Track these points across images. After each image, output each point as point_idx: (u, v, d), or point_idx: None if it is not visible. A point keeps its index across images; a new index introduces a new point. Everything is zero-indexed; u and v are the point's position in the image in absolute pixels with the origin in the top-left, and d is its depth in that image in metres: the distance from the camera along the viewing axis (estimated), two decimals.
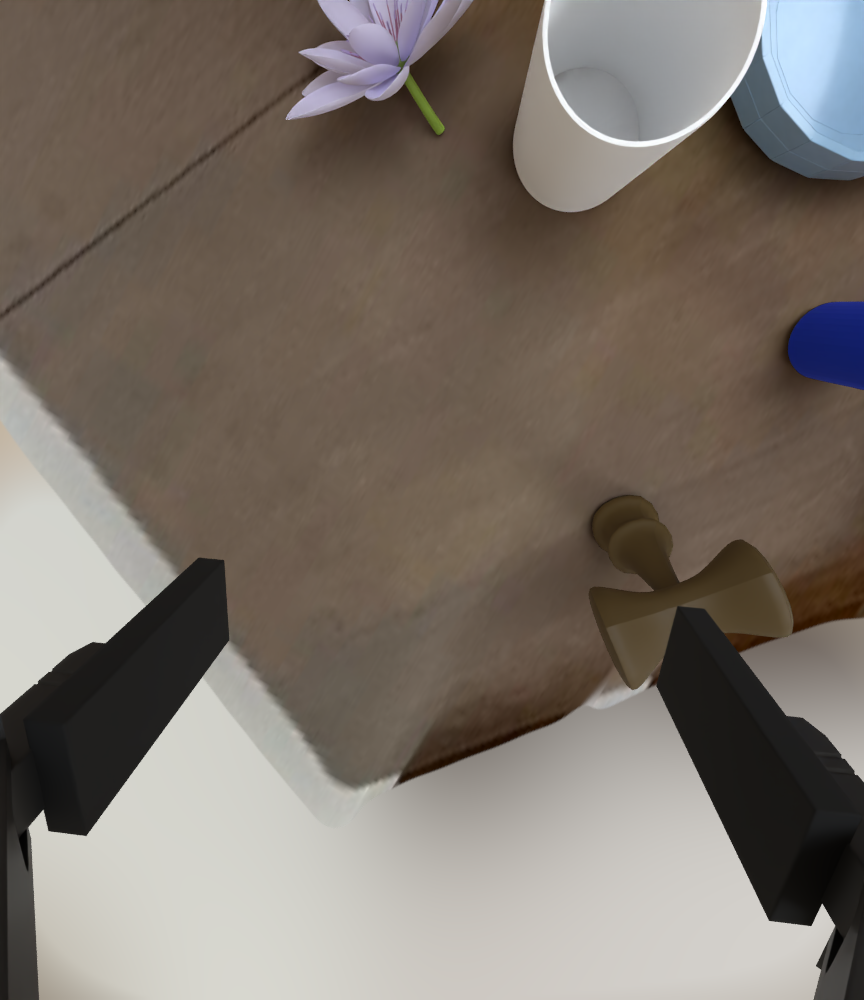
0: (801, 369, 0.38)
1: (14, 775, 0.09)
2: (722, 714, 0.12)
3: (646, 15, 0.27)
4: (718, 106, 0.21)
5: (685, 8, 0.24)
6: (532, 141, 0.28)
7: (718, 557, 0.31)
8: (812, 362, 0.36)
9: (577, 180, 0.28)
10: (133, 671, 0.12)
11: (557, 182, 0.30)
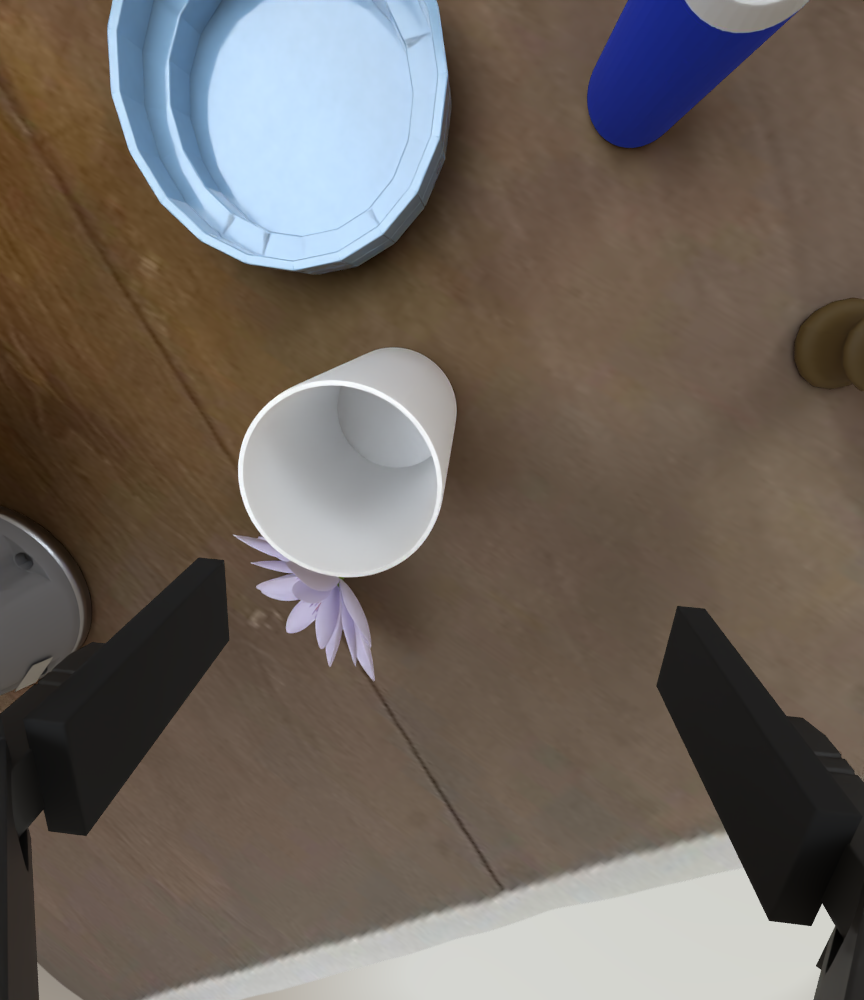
0: (670, 127, 0.29)
1: (14, 775, 0.09)
2: (722, 714, 0.12)
3: (311, 401, 0.29)
4: (412, 418, 0.20)
5: (313, 388, 0.26)
6: None
7: None
8: (667, 127, 0.27)
9: None
10: (133, 671, 0.12)
11: None
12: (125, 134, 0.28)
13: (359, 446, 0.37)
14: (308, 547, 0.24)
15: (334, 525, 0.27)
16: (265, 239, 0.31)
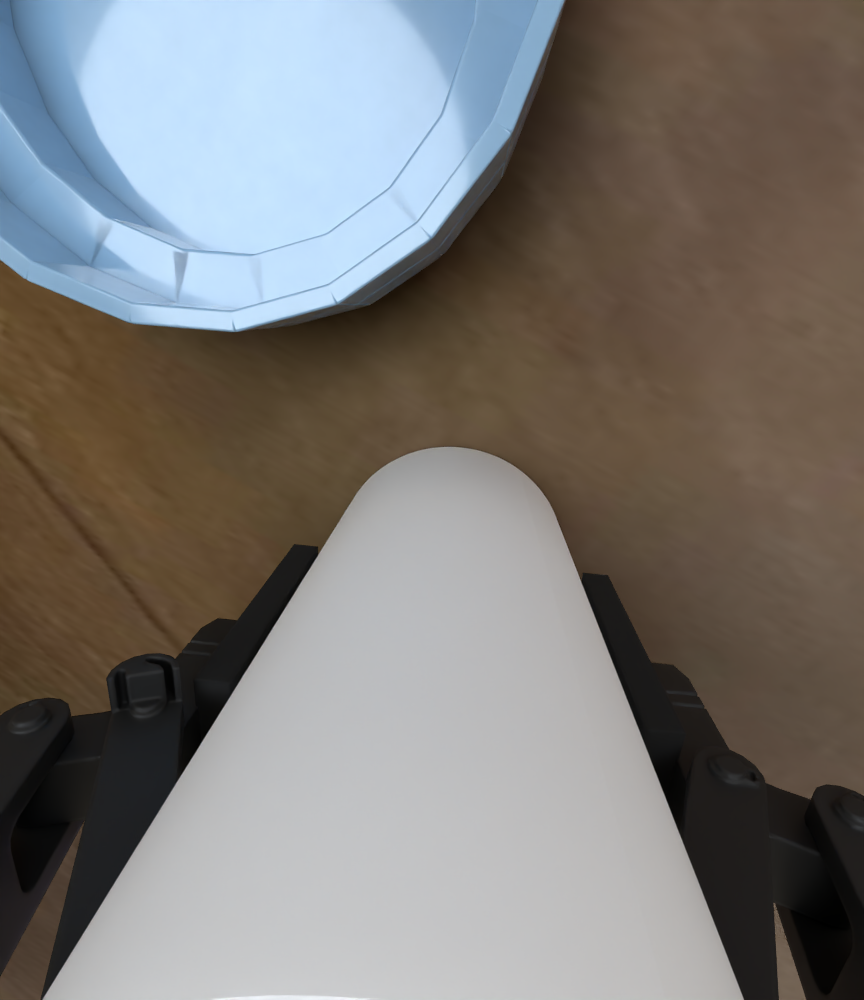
0: None
1: (185, 735, 0.11)
2: None
3: None
4: None
5: None
6: None
7: None
8: None
9: None
10: None
11: None
12: None
13: None
14: None
15: None
16: (179, 265, 0.15)
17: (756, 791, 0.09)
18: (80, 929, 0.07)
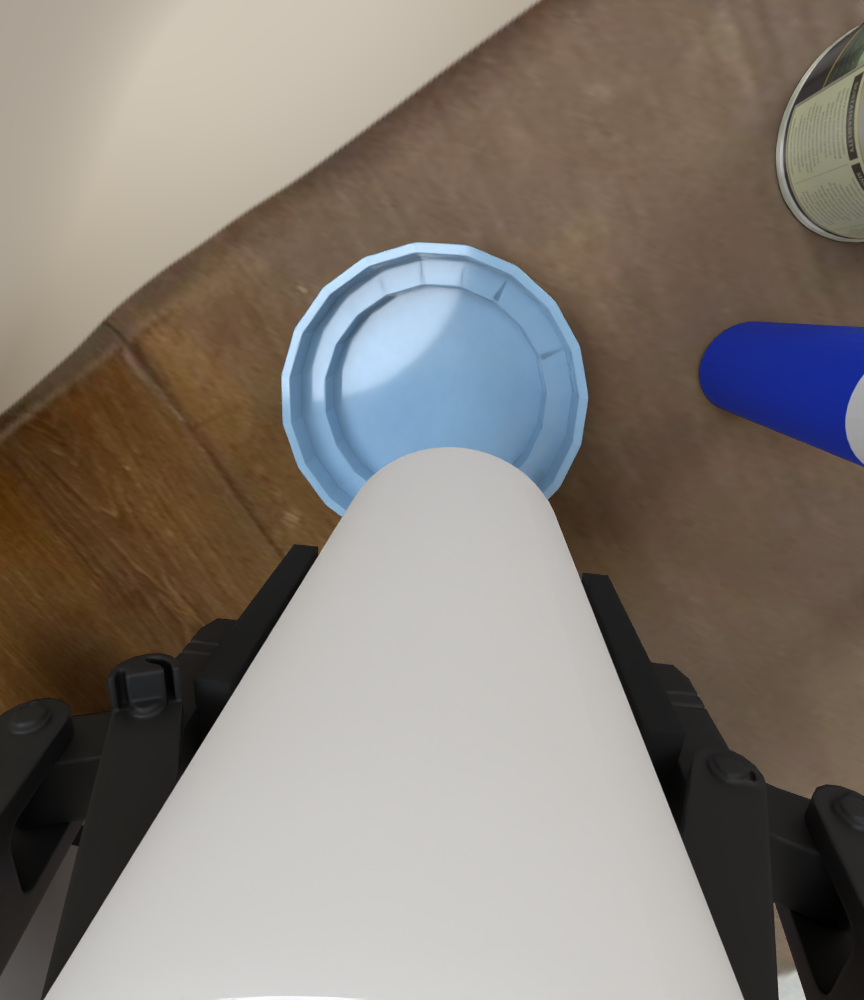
0: None
1: (185, 735, 0.11)
2: None
3: None
4: None
5: None
6: None
7: None
8: None
9: None
10: None
11: None
12: (293, 452, 0.31)
13: None
14: None
15: None
16: None
17: (756, 791, 0.09)
18: (80, 929, 0.07)
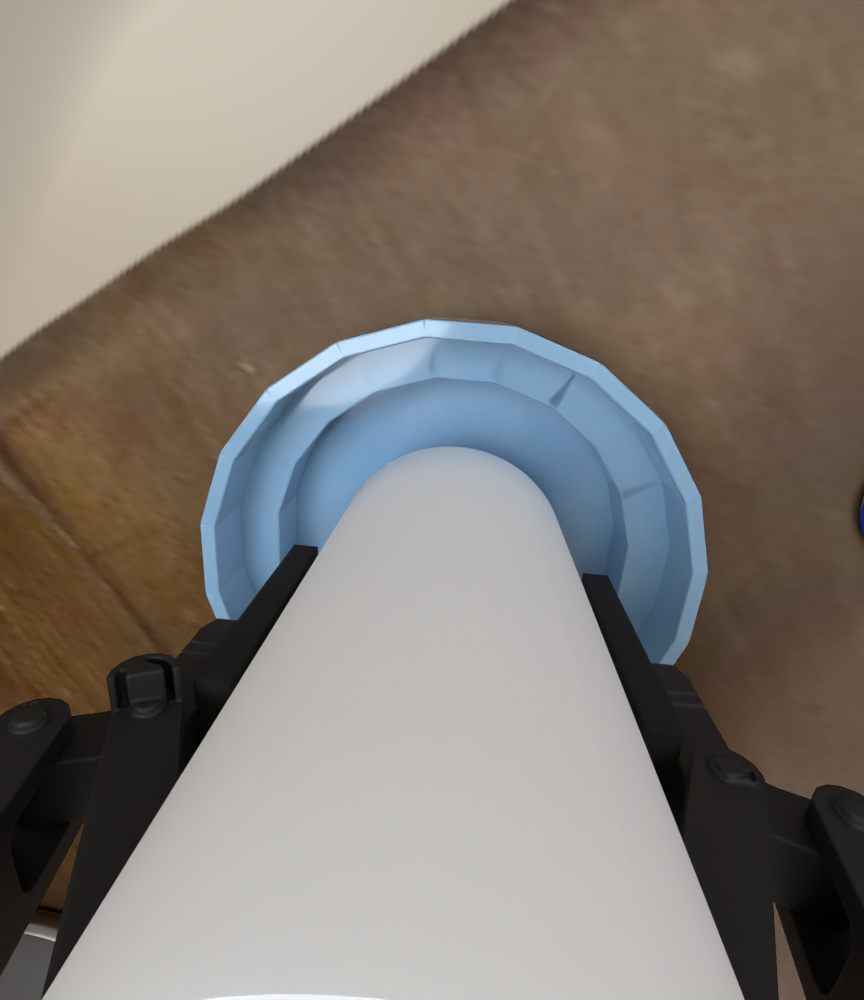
0: None
1: (185, 735, 0.11)
2: None
3: None
4: None
5: None
6: None
7: None
8: None
9: None
10: None
11: None
12: None
13: None
14: None
15: None
16: None
17: (756, 791, 0.09)
18: (80, 929, 0.07)
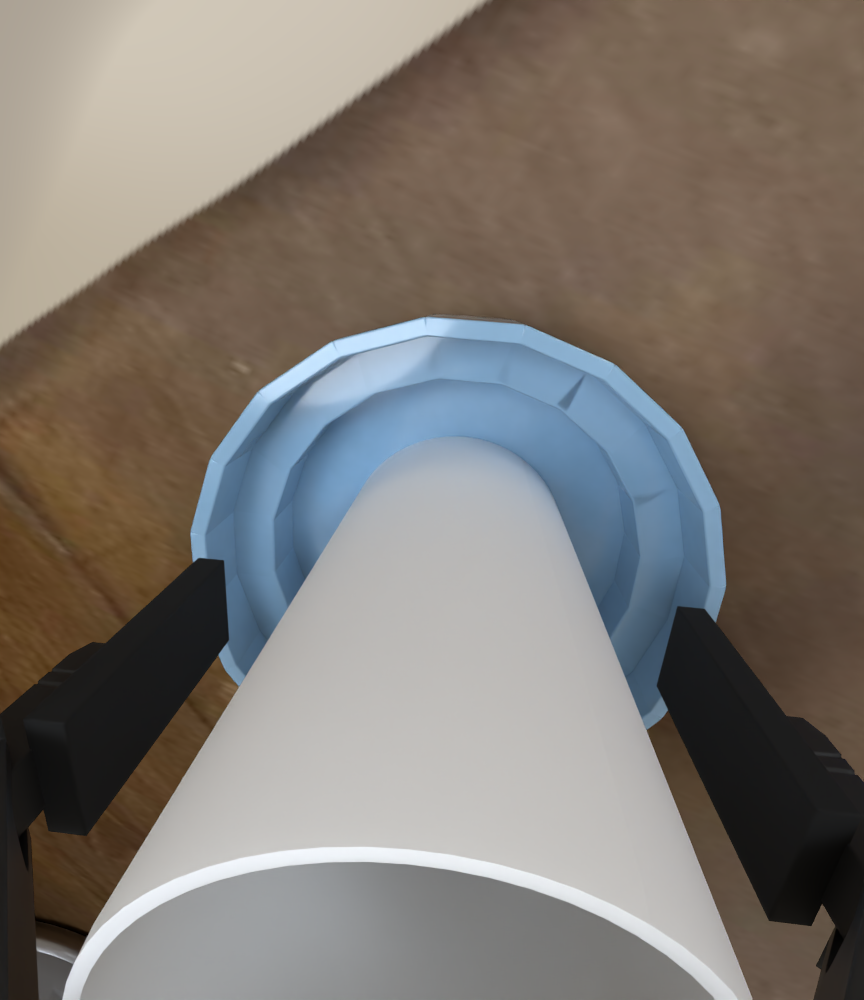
0: None
1: (14, 775, 0.09)
2: (722, 714, 0.12)
3: None
4: (691, 968, 0.05)
5: None
6: None
7: None
8: None
9: None
10: (133, 671, 0.12)
11: None
12: None
13: None
14: None
15: (374, 912, 0.12)
16: None
17: None
18: None
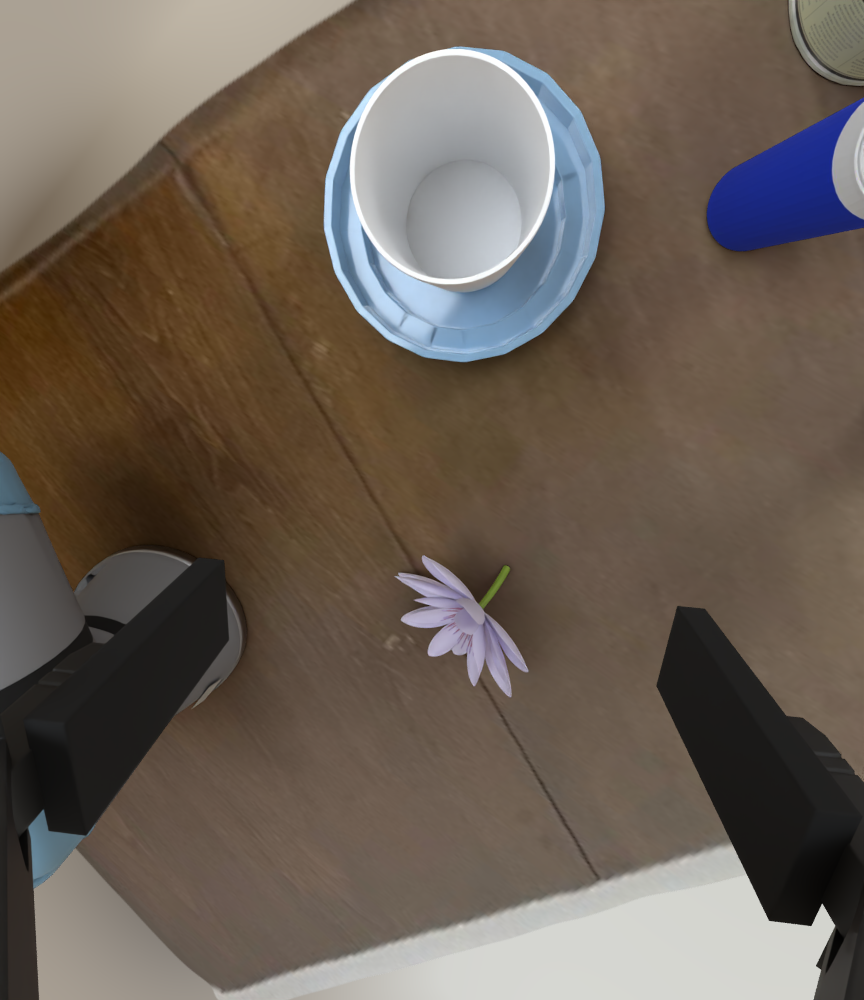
0: None
1: (14, 775, 0.09)
2: (722, 714, 0.12)
3: (396, 170, 0.29)
4: (528, 88, 0.20)
5: (405, 132, 0.26)
6: (492, 280, 0.29)
7: None
8: None
9: None
10: (133, 671, 0.12)
11: None
12: (331, 257, 0.34)
13: (427, 265, 0.37)
14: (411, 269, 0.24)
15: None
16: (432, 332, 0.37)
17: None
18: None
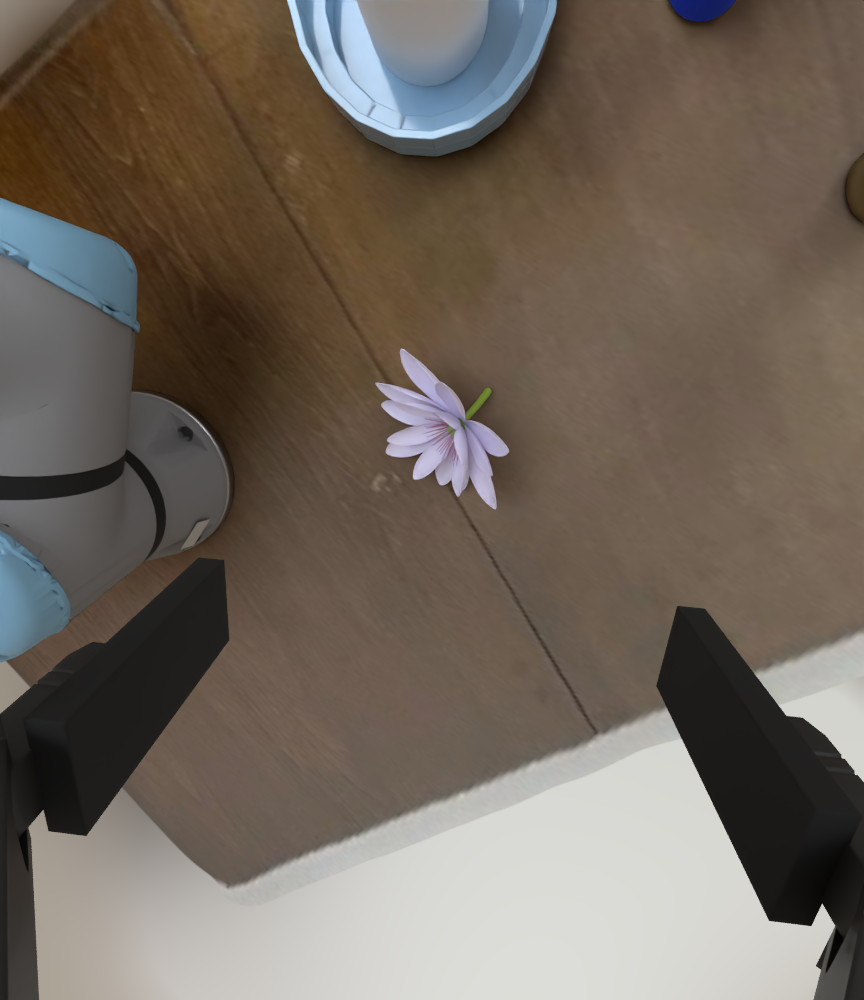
0: None
1: (14, 775, 0.09)
2: (722, 714, 0.12)
3: None
4: None
5: None
6: (451, 14, 0.30)
7: None
8: None
9: None
10: (133, 671, 0.12)
11: None
12: (296, 33, 0.34)
13: None
14: None
15: None
16: (401, 121, 0.37)
17: None
18: None
